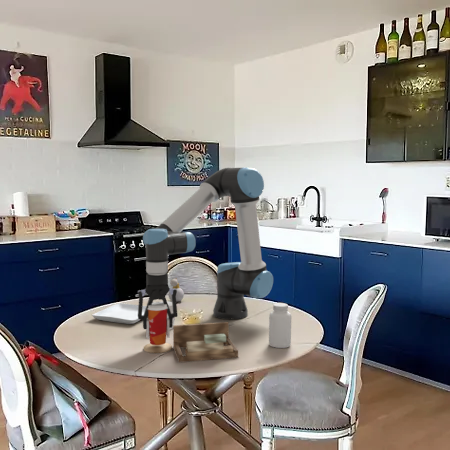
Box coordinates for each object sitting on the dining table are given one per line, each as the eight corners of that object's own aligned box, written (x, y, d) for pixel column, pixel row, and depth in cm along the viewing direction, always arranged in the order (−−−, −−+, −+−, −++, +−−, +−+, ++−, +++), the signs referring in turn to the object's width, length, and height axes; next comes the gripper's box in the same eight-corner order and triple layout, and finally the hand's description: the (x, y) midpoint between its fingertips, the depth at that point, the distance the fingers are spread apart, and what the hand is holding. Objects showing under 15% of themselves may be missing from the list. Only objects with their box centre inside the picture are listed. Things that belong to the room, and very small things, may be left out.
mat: (170, 342, 189) (170, 341, 189) (173, 352, 179) (173, 350, 179) (142, 344, 187) (142, 343, 187) (144, 354, 177) (144, 352, 177)
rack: (227, 343, 189) (227, 321, 188) (238, 357, 174) (238, 334, 173) (173, 347, 184) (173, 325, 183) (179, 362, 170) (179, 338, 169)
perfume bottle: (182, 299, 255) (182, 275, 254) (186, 303, 246) (186, 279, 245) (167, 300, 253) (167, 276, 252) (170, 305, 244) (170, 280, 243)
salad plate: (133, 327, 209) (133, 319, 208) (90, 322, 217) (90, 314, 216) (159, 314, 228) (159, 307, 228) (119, 309, 236) (118, 302, 236)
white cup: (172, 331, 203) (171, 306, 202) (153, 330, 204) (152, 305, 203) (177, 325, 211) (177, 301, 210) (159, 324, 212) (159, 300, 211)
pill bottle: (285, 350, 181) (285, 308, 180) (265, 346, 186) (265, 305, 184) (294, 343, 188) (295, 303, 187) (274, 340, 192) (275, 300, 191)
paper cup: (147, 339, 186) (147, 301, 185) (169, 338, 187) (168, 301, 185) (146, 346, 178) (145, 307, 177) (168, 346, 179) (168, 306, 178)
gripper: (183, 269, 186) (183, 332, 188) (128, 272, 182) (129, 335, 184) (186, 273, 179) (186, 338, 181) (129, 276, 174) (130, 342, 177)
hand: (157, 337), depth 183 cm, fingers closed on paper cup, 6 cm apart
